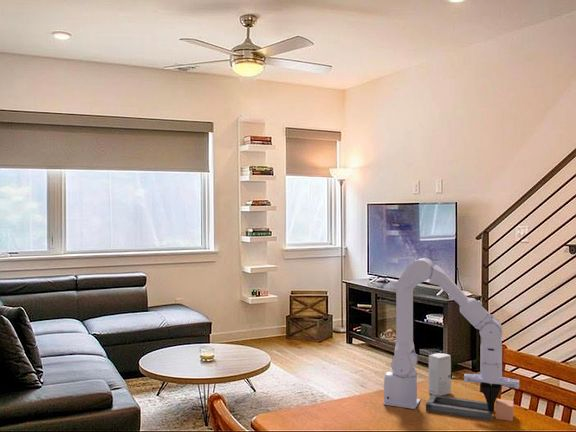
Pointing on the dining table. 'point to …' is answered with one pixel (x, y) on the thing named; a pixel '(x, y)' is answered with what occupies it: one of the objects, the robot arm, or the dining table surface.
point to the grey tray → (459, 407)
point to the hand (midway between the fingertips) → (491, 410)
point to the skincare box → (440, 374)
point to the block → (504, 409)
